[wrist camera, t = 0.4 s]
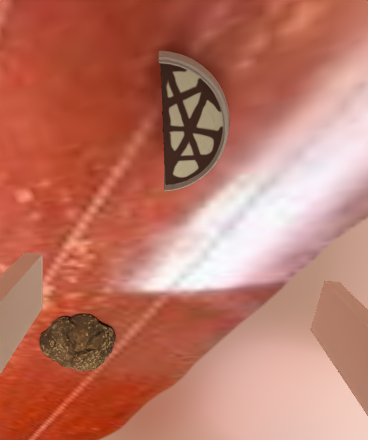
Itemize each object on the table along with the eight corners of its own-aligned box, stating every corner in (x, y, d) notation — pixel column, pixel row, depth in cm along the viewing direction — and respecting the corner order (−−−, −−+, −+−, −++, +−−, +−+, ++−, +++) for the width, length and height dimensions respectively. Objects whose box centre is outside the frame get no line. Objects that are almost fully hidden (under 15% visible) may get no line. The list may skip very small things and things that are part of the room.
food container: (216, 154, 40) (227, 195, 32) (165, 155, 40) (164, 196, 32) (222, 39, 34) (239, 53, 25) (161, 40, 33) (158, 54, 25)
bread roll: (94, 364, 64) (89, 390, 60) (33, 341, 60) (23, 367, 56) (130, 329, 59) (127, 355, 54) (65, 301, 54) (56, 326, 50)
